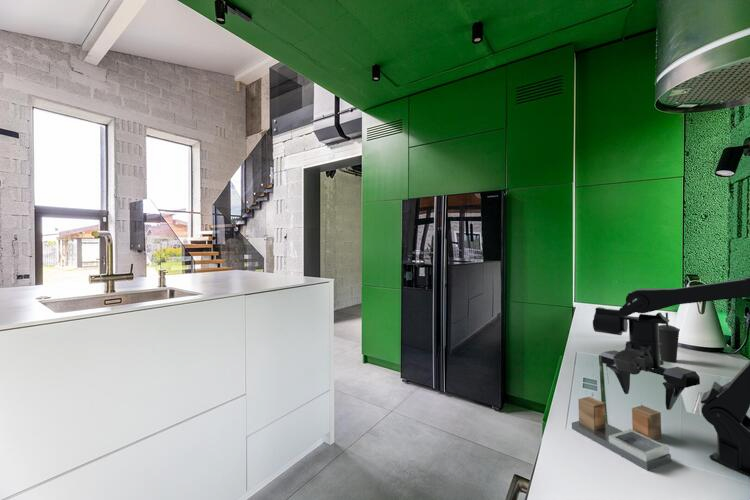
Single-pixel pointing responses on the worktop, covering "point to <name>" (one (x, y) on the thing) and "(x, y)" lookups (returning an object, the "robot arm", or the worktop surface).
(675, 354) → the drinking cup
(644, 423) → the tan wooden block
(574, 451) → the worktop surface
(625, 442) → the grey base plate
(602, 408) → the brown wooden block
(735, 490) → the worktop surface
